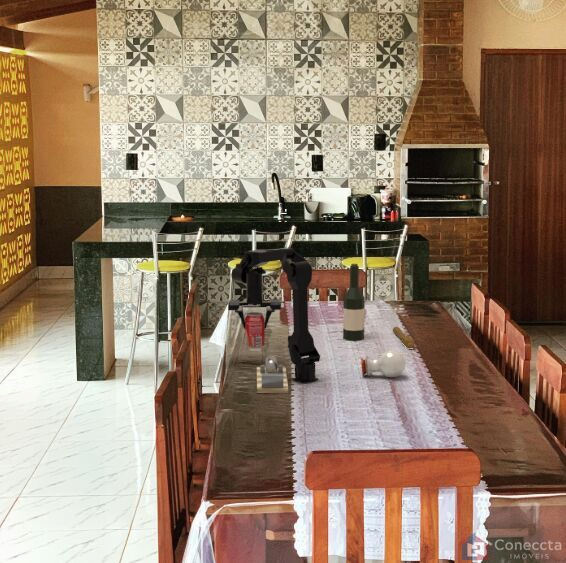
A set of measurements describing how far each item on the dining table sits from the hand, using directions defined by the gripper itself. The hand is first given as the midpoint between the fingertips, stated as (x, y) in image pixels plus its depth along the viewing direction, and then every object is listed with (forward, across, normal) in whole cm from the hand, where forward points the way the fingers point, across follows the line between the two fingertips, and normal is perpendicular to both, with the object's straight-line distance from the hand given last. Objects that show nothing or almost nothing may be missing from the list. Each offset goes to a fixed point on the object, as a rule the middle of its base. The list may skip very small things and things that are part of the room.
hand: (254, 328), depth 354 cm
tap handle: (+13, -58, -33) cm, 68 cm away
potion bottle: (+13, -44, +19) cm, 49 cm away
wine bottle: (+13, -39, -38) cm, 56 cm away
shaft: (+11, -6, +16) cm, 20 cm away
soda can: (+7, 0, 0) cm, 7 cm away
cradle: (+13, -6, +24) cm, 28 cm away
